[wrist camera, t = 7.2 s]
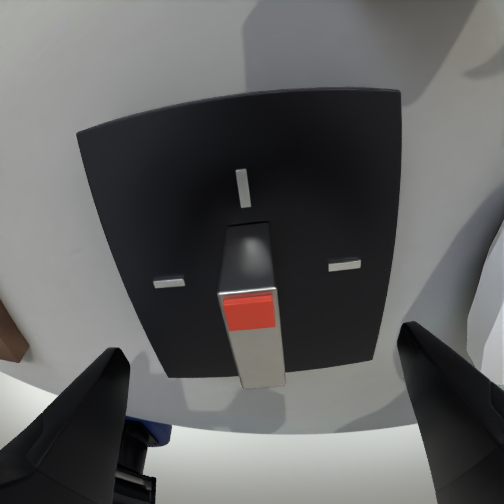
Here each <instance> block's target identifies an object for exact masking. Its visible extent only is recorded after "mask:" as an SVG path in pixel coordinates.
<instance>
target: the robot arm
mask: <svg viewBox="0 0 504 504" xmlns="http://www.w3.org/2000/svg"><path fill="white" fill-rule="evenodd" d="M397 347H398V352H399V356H400V360H401V364H402V369H403V373H404V378H405V383H406V387H407V390H408V394H409V397H410V400H411V403H412V406H413V409H414V412H415V416H416V419H417V422H418V426H419V429H420V433H421V436H422V440H423V443H424V447H425V450H426V454H427V458H428V462H429V466H430V470H431V474H432V478H433V483H434V488H435V491H436V498H437V503H438V504H504V391H503V390H502V389H501V388H500V387H498V386H497V385H496V384H495V383H494V382H492V381H490V379H489V378H487V377H486V376H485V375H484V374H482V373H481V372H480V371H479V370H477V369H476V368H475V367H474V366H472V365H471V364H470V363H469V362H467V361H466V360H465V359H464V358H462V357H461V356H460V355H459V354H457V353H456V352H455V351H454V350H452V349H451V348H450V347H448V346H447V345H446V344H445V343H443V342H442V341H441V340H439V339H438V338H437V337H435V336H434V335H433V334H432V333H430V332H429V331H428V330H426V329H425V328H424V327H422V326H421V325H420V324H418V323H417V322H415V321H411V322H406V323H403V324H402V326H401V330H400V333H399V337H398V340H397ZM129 378H130V364H129V362H128V360H127V358H126V357H125V355H124V353H123V352H122V350H121V349H120V348H116V347H110V348H107V349H106V350H105V351H104V352H103V353H102V354H101V355H100V356H99V357H98V358H97V359H96V360H95V361H94V362H93V363H92V364H91V365H90V366H89V367H87V368H86V369H85V370H84V371H83V372H82V373H81V374H80V375H79V376H78V377H77V378H76V379H75V380H74V381H73V382H72V383H71V384H70V385H69V386H68V387H67V388H66V389H65V390H64V391H63V392H62V393H61V394H60V395H59V396H58V397H57V398H56V399H55V400H54V401H53V402H52V403H51V404H50V405H49V406H48V407H47V408H46V409H45V410H44V411H43V413H41V414H40V415H39V416H38V417H37V418H36V419H35V420H34V421H33V422H32V423H31V424H30V425H29V426H28V427H27V428H26V429H24V430H23V431H22V432H21V433H20V434H19V435H18V436H17V437H15V438H14V439H13V440H12V441H10V442H9V443H8V444H7V445H6V446H5V447H3V448H2V449H1V450H0V504H155V495H156V478H155V477H149V476H146V475H143V469H144V464H145V459H146V453H147V447H148V444H150V445H159V441H158V440H157V439H156V438H155V437H154V436H153V434H152V433H151V432H150V431H149V430H148V429H147V428H146V426H145V425H144V424H143V423H142V422H140V421H135V420H126V419H125V414H126V408H127V399H128V388H129Z"/></svg>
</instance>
